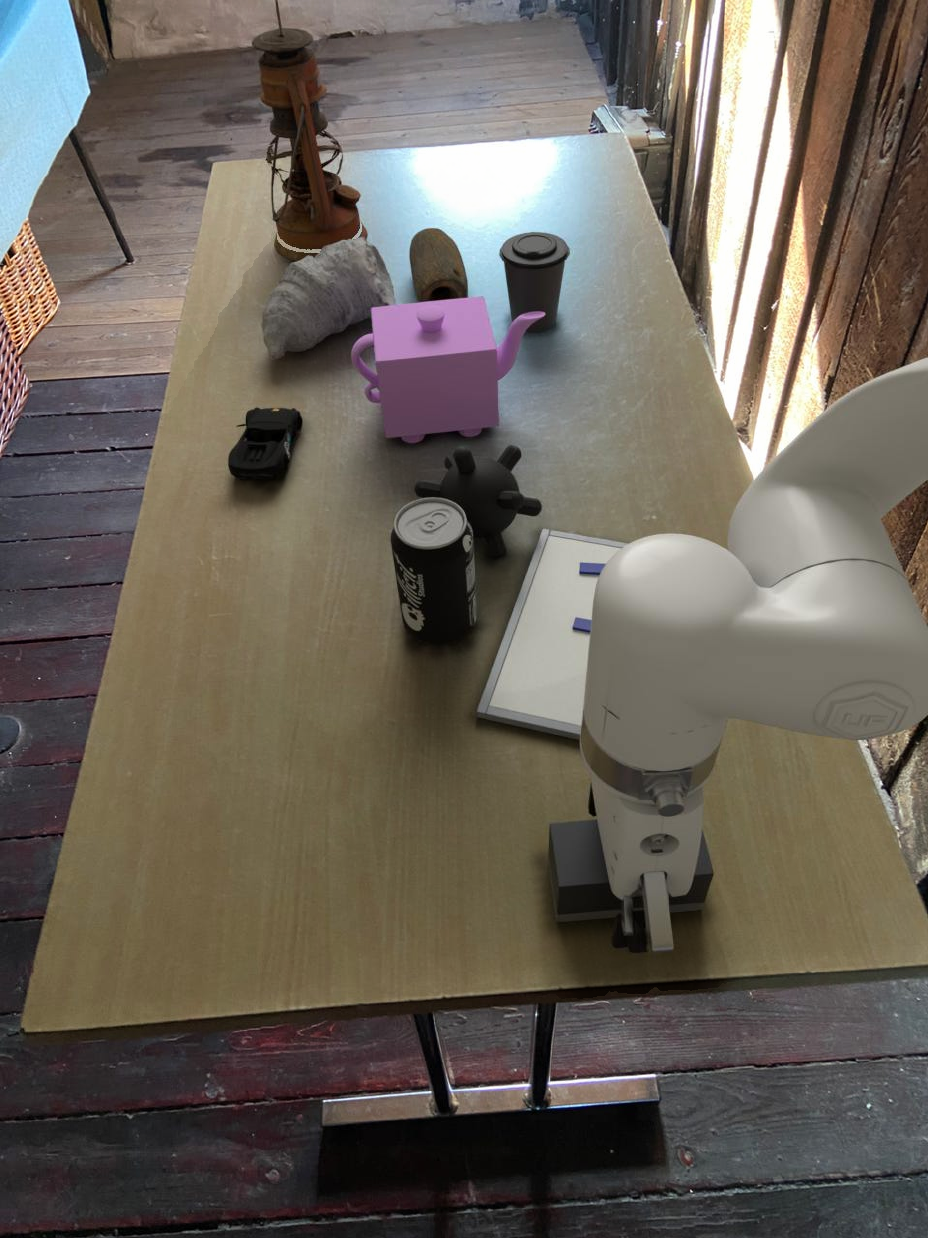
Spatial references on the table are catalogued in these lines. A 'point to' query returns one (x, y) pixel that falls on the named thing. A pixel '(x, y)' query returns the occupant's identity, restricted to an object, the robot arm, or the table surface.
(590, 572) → the blue bar
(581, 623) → the blue rectangular bar
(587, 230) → the table surface
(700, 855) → the whiteboard eraser
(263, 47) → the lantern
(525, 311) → the coffee cup
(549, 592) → the whiteboard
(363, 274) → the seashell
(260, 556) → the table surface
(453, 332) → the teapot
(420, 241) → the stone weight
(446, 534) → the beverage can
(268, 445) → the toy car
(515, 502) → the toy ball
